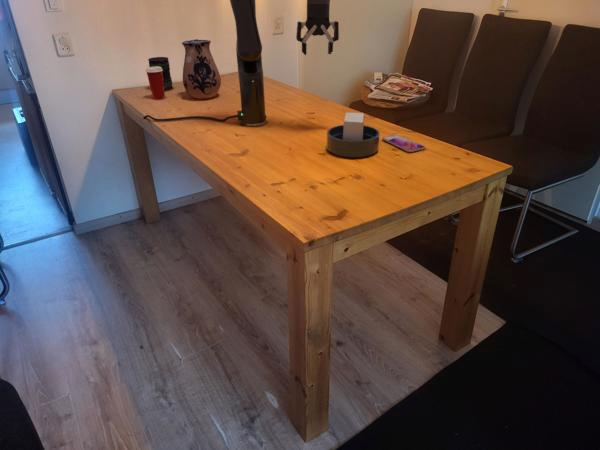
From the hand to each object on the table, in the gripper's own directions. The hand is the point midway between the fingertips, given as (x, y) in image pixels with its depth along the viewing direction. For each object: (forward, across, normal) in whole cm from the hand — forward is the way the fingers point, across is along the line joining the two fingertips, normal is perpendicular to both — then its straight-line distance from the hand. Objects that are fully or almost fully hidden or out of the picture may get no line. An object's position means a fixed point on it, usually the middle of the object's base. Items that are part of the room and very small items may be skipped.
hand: (317, 54), depth 156 cm
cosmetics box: (+26, -9, +22) cm, 35 cm away
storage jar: (+29, +66, -80) cm, 108 cm away
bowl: (+27, -9, +22) cm, 36 cm away
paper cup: (+29, +66, -62) cm, 95 cm away
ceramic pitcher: (+29, +45, -62) cm, 82 cm away
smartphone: (+27, -27, +20) cm, 43 cm away
